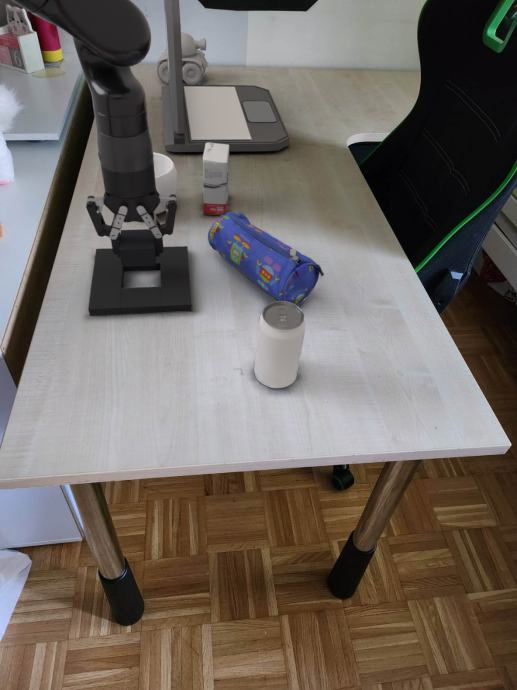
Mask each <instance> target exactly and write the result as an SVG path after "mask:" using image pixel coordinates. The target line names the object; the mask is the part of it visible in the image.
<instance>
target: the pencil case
mask: <svg viewBox="0 0 517 690" xmlns="http://www.w3.org/2000/svg"><path fill="white" fill-rule="evenodd" d="M207 242H208V245H209V246H210V247H211V249H212V250H214V251H215V252H217V253H218V254H219V255H220V257H222V258H223V259H224V260H225V261H227V262H228V263H229V264H231V265H232V266H233V267H235V268H236V269H237V270H239V271H240V272H241V273H242V274H243V275H245V276H246V277H247V278H248V279H249V280H250V281H252V282H253V283H254V284H255V285H257V286H258V287H259V288H260V289H261V290H263V291H264V292H266V293H268V294H269V295H270V296H272V298H274V299H276V300H277V301H287V302H291V303H293V304H295V305H297V306H298V307H299V306H300V305H302V303H303V302H304V301H305V300H306V299H307V298H308V296H309V295H310V294H311V293H312V292H313V290H314V288H315V287H316V286H317V284H318V281H319V278H320V277H324V276H325V273H324V271H323V270H322V266H320V264H317V262H316V261H315V260H313V258H311V257H309V256H308V255H305V254H302V253H301V252H299V250H296V249H295V248H292V247H291V246H290V245H288V244H287V243H284V242H283V241H282V240H279V239H278V238H276V237H274V236H273V235H271V234H270V233H268V232H266V231H265V230H263V229H261V228H259V227H258V226H256V225H254V224H252V223H251V222H250V220H249V219H248V217H247V215H245V213H244V212H241V211H229V212H226V214H225V215H220V217H219V218H217V219H216V220H215V221H214V222H213V223H212V225H210V227H209V230H208V233H207Z"/></svg>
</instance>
